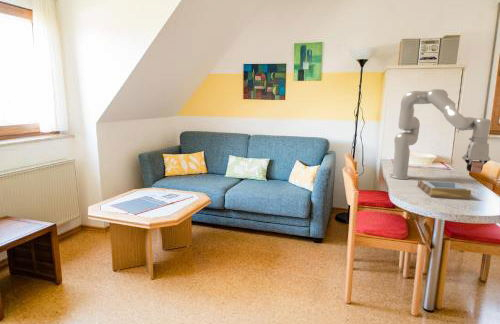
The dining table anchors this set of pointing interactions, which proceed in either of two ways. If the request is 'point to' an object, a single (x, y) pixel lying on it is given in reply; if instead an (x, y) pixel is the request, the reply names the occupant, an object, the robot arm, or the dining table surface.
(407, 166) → the robot arm
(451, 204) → the dining table surface
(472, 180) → the dining table surface
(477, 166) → the block
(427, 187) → the bay
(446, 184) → the grey tray
